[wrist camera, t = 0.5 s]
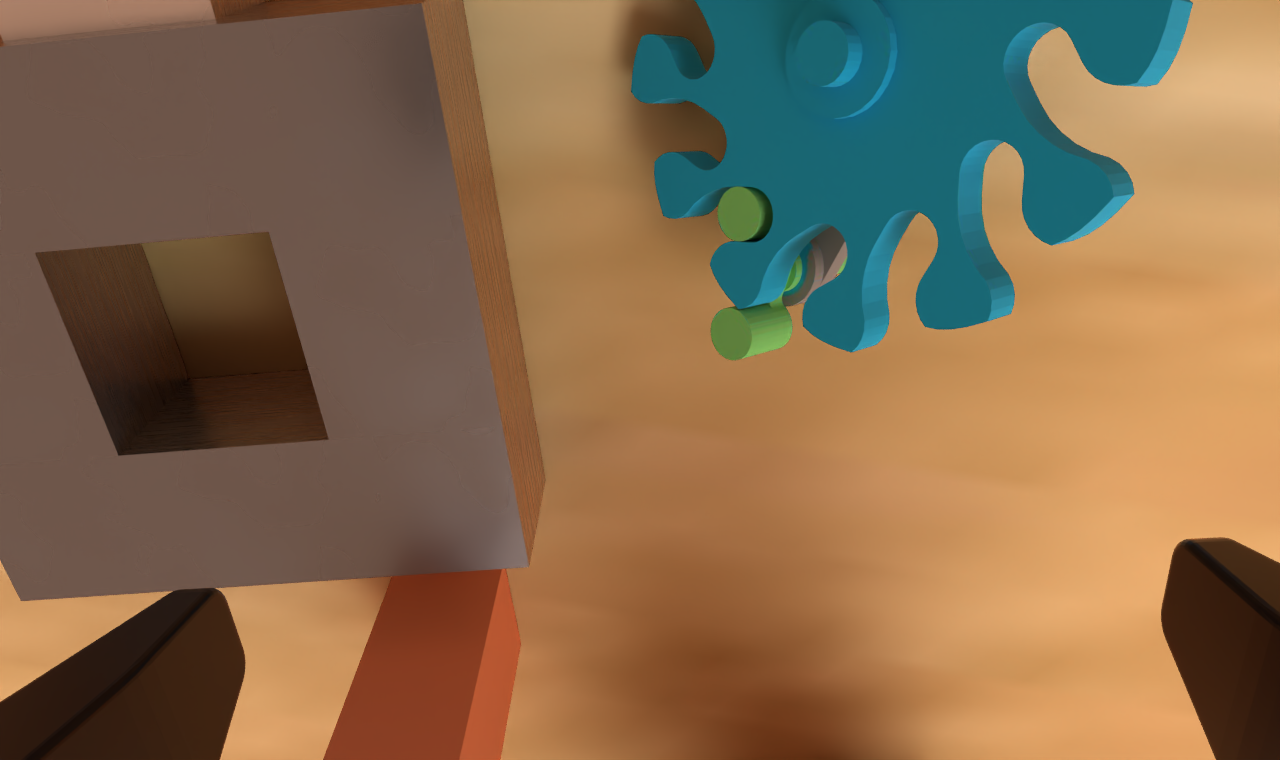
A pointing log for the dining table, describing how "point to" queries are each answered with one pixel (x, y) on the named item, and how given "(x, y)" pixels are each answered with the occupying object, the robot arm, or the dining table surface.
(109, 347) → the grey square hole block
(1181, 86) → the dining table surface
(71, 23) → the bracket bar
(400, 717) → the terracotta rectangular prism
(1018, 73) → the gear
